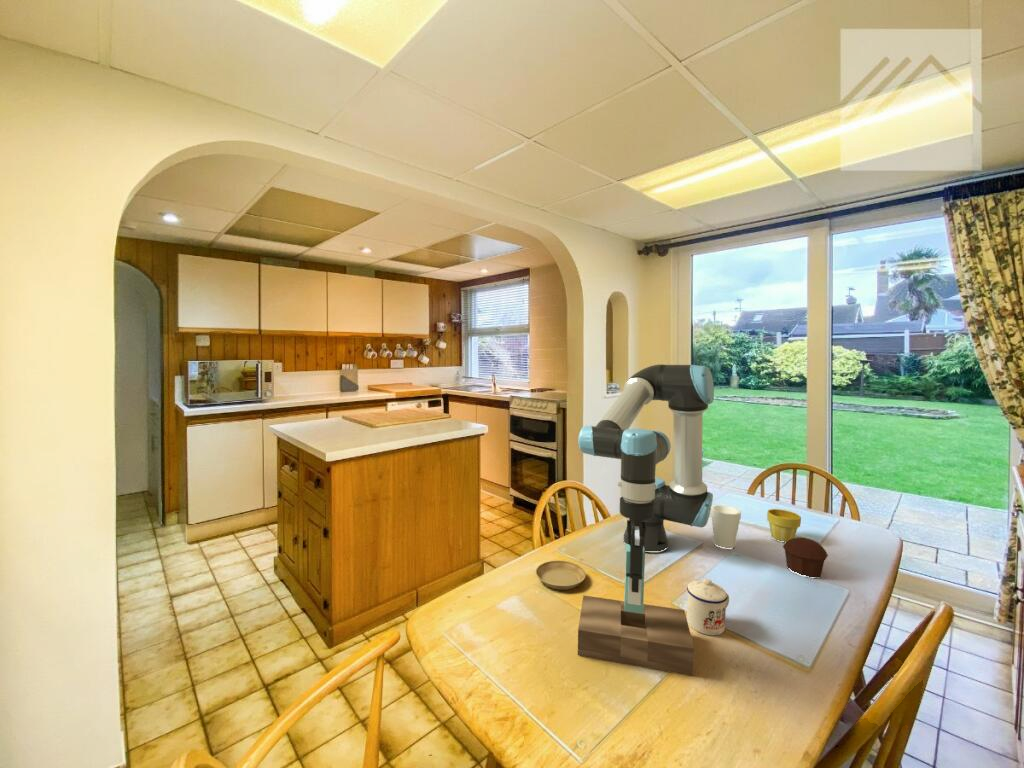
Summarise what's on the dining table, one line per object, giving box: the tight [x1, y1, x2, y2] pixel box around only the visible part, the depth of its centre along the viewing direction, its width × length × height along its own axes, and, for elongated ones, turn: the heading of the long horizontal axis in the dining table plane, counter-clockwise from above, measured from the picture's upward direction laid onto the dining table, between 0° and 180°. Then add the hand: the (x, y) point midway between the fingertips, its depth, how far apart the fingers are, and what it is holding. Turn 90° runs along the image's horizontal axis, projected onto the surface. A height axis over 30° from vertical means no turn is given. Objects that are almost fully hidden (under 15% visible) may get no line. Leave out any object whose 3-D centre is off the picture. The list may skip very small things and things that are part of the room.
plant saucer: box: [535, 560, 587, 591], centre depth 127 cm, size 15×15×3 cm
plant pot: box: [766, 508, 802, 542], centre depth 156 cm, size 10×10×10 cm
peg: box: [623, 544, 646, 614], centre depth 98 cm, size 4×4×14 cm
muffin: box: [782, 536, 829, 578], centre depth 133 cm, size 12×11×10 cm
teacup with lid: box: [686, 577, 730, 636], centre depth 107 cm, size 12×9×12 cm
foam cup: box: [710, 504, 742, 548], centre depth 151 cm, size 10×9×13 cm
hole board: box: [577, 595, 695, 677], centre depth 99 cm, size 14×24×6 cm, turn 76°
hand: (633, 597), depth 98 cm, fingers closed on peg, 4 cm apart
